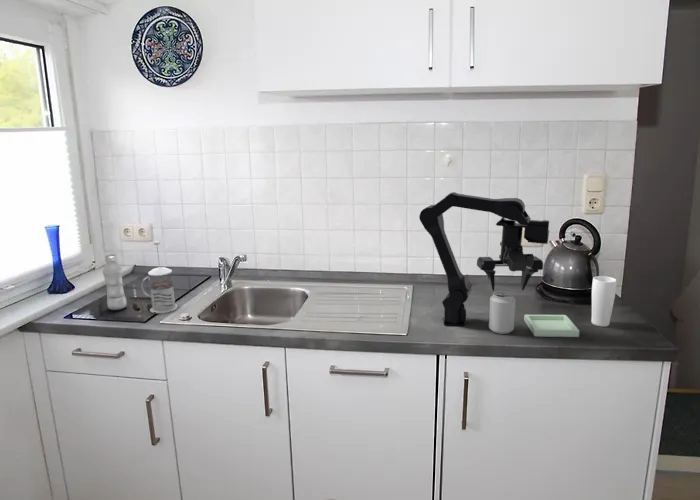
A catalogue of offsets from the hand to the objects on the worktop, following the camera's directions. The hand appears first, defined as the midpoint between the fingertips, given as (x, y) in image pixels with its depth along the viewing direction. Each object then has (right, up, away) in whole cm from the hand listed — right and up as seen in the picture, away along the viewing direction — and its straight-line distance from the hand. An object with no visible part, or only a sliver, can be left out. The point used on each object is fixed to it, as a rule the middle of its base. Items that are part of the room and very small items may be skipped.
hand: (507, 290), depth 159 cm
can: (-1, -13, +2) cm, 13 cm away
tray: (+14, -12, +3) cm, 19 cm away
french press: (-116, -9, +28) cm, 120 cm away
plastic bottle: (-132, -9, +28) cm, 136 cm away
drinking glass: (+31, -11, +5) cm, 34 cm away
